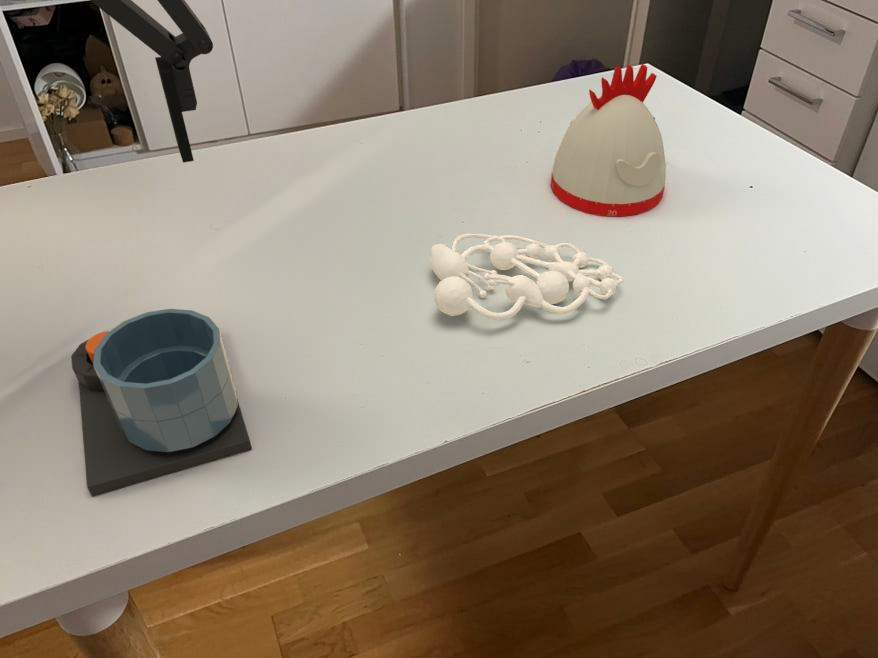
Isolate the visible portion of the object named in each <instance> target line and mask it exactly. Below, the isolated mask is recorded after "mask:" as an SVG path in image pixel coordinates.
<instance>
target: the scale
mask: <svg viewBox="0 0 878 658" xmlns="http://www.w3.org/2000/svg"><path fill="white" fill-rule="evenodd" d="M89 339H90V338H88V339H86V340H85V341H83V342H81V343H80V344H79V345H78V346H77V348H76V349H75V350H74V351H73V353H72V355H71V358H70V359H71V368H72V370H73V372H74V375H75V377H76V380H77V381H78V393H79V400H80V401H79V404H80V405H79V406H80V415H81V416H80V418H81V428H82V429H81V430H82V440H83V441H82V442H83V453H84V463H85V464H84V466H85V477H86V488H87V490H88V492H89V494H90V496H91V497H97V496H100V495H103V494H107V493H111V492H114V491H117V490H120V489H124V488H127V487H131V486H134V485H137V484H141V483H144V482H147V481H151V480H155V479H159V478H160V477H165V476H168V475H171V474H174V473H175V474H176V473H178V472H182V471H185V470H189V469H192V468H195V467H200V466H201V465H205V464H208V463H213V462H216V461H218V460H222V459H226V458H229V457H232V456H236V455H239V454H242V453H246V452H249V451H252V450H253V447H252V444H251V443H252V442H251V440H250V436H249V433H248V430H247V427H246V423H245V420H244V416H243V413H242V410H241V406H240V403H239V399H238V398H237V403H238V407H237V409H236V411H235V413H234V416H233V418H232V420H231V422H230V423H229V424H228V425H227V426H226V427H225V428H224V429H223V430H222V431H220V432H219V433H218V434H217V435H216V436H214V437H213V438H211V439H209V440H207V441H205V442H203V443H201V444H199V445H197V446H195V447H192V448H188V449H183V450H178V451H173V452H159V451H147V450H145V449H143V448H141V447H139V446H137V445H135V444H133V443H131V442H129V441H128V439H127V438H126V436H125V435H124V433H123V431H122V430H121V428H120V426H119V423H118V421H117V419H116V417H115V414H114V412H113V410H112V407H111V405H110V403H109V400H108V398H107V396H106V394H105V391H104V389H103V387H102V384H101V382H100V380H99V377H98V375H97V373H96V371H95V368H94V366H93V363H92V361H91V359H90V357H89V354H88V352H87V350H86V343H87V341H88V340H89Z"/></svg>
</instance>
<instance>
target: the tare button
mask: <svg viewBox="0 0 878 658" xmlns="http://www.w3.org/2000/svg"><path fill="white" fill-rule="evenodd" d="M109 331H110V330H108V331H102V332H99V333H96V334H94V335H93V336H91V337H90V338H88V339H89V340H88V339H87V340H88V341H87V340H86V341H87V343H86V350H87V352H88V354H89V357H90V359H91V361H92V363H93V361H94V351H95V348H96V347H97V345H98V344H99V343H100V341H101V340H102V338H103V337H104V336H105V334H106V333H108V332H109Z"/></svg>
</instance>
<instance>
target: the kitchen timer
mask: <svg viewBox="0 0 878 658" xmlns="http://www.w3.org/2000/svg"><path fill="white" fill-rule="evenodd" d="M647 75H648V66H647V65H645V64H644V63H641V64H640V67H639V69H638V72H637V73H636V76H635V77H634V67H633V66H632V65H631V64H629V63H627V65H626V68H625V72H624V75H623V71H622V68H621V67H619V66H618V65H616V66H615V68H614V70H613V75H612V78H611V82H610V83H609V81H608V80H607V79H606V78H605V77H601V79H600V80H601V81H600V82H601V83H600V84H601V95H600V96H597V95H596V93H595V92H594V91H593V90H592V89H589V90H588V93H589V98H590V101H591V102H589V103H587V104H586V106H584V107H583V109H581V111H579V113H578V114H577V115H576V116H575V117H574V118H573V119H571V120H570V122H569V126H567V127H568V128H567V129H566V131H565V133H564V135H563V138H562V139H561V142H560V144H559V146H558V149H557V151H556V154H555V157H554V161H553V165H552V169H551V177H550V187H551V190H552V193H553V194H554V195H555V196H556V197H557V199H559V200H560V202H561V203H563V204H565V205H567V206H569V207H570V208H572V209H575V210H577V211H581V212H583V213H586V214H591V215H596V216H600V217H601V216H602V217H618V218H619V217H628V216H636V215H639V214H643V213H646V212H649V211H650V210H652V209H654V208H655V207H657V206H658V205H659V204H660V202H661V200H662V199H663V197H664V192H665V188H666V181H667V179H666V178H667V177H666V175H667V174H666V167H667V166H666V165H667V164H666V155H665V147H664V141H663V137H662V134H661V130H660V128H659V125H658V123H657V121H656V118H655V116H654V115H653V114H652V112H651V111H650V110H649V108H648V107H647V105H646V104H645V103H644V102H645V100H646V98H647V96H648V94H649V93H650V91H651V90H652V88H653V86H654V84H655V83H656V82H655V81H656V80H657V74H655V73H654V72H651V73H650V74H649V75H648V77H647Z"/></svg>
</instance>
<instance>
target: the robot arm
mask: <svg viewBox="0 0 878 658" xmlns="http://www.w3.org/2000/svg"><path fill="white" fill-rule="evenodd" d="M89 1H90V2H91V3H92V4H93V5H95V6H96V7H98V8H99V9H100V10H101V11H103V12H104V13H105V14H107V15H108V17H111V19H113V21H115V22H117V23H118V24H119V25H120V26H121V27H123V28H124V29H125V30H126V31H128V32H129V33H130V34H131V35H132V36H134V37H136V39H138V40H139V41H141V42H142V43H143V44H144V45H145V46H147V47H148V48H149V49H151V51H153V52H155V53H156V54H157V55H158V56H157V57H154V58H155V63H156V66H157V72H158V75H159V79H160V82H161V86H162V90H163V94H164V98H165V102H166V106H167V110H168V113H169V117H170V122H171V125H172V130H173V133H174V136H175V141H176V145H177V148H178V152H179V156H180V157H181V161H182V163H191V162H194V161H195V160H194V156H193V152H192V151H193V150H192V148H191V143H190V139H189V135H188V132H187V127H186V123H185V119H184V115H183V113H184V112H191V111H196V110H197V107H198V101H197V97H196V92H195V87H194V83H193V78H192V74H191V70H190V64H191V62H192V61H193V59H195V58H196V57H198V56H200V55H209V54H210V53H211V52H212V51H213V48H214V42H213V41H212V38H211V36H210V34H209V32H208V31H207V29H206V27H205V25H204V24H203V23H202V22H201V20H200V18H199V17H198V16H197V14H196V13H195V12H194V11H193V9H192V8H191V6H190V5H189V4H188V3H187V2H186V0H157V2H158V3H159V4H160V6H161V7H162V8H163V10H164V11H165V12H166V13H167V14H168V16H169V17H170V19H171V20H172V22H174V23H175V25H176V26H177V28H178V29H179V31H180V32H181V33H180V34H178V35H174V34H173V33H172V32H170V31H169V30H168V29H167V28H165V26H163V25H162V24H161V23H160V22H158V21H157V20H156V19H155V18H154V17H152V16H151V15H150V14H149V13H147V12H146V11H145V10H144V9H143V8H142V7H140V6H139V5H138V4H137V3H135V2H134V1H133V0H89Z"/></svg>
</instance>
